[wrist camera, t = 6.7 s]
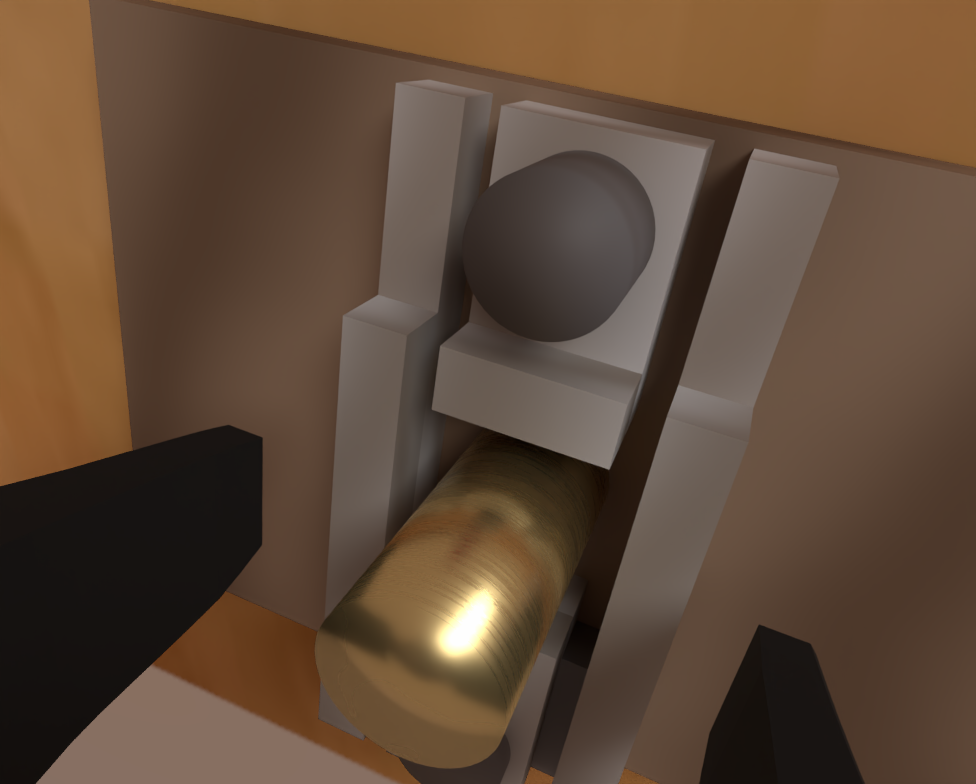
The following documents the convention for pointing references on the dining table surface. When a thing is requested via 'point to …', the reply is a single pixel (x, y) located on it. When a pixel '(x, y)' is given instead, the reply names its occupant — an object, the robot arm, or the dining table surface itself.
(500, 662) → the brass pin
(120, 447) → the dining table surface
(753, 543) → the grey mounting plate
